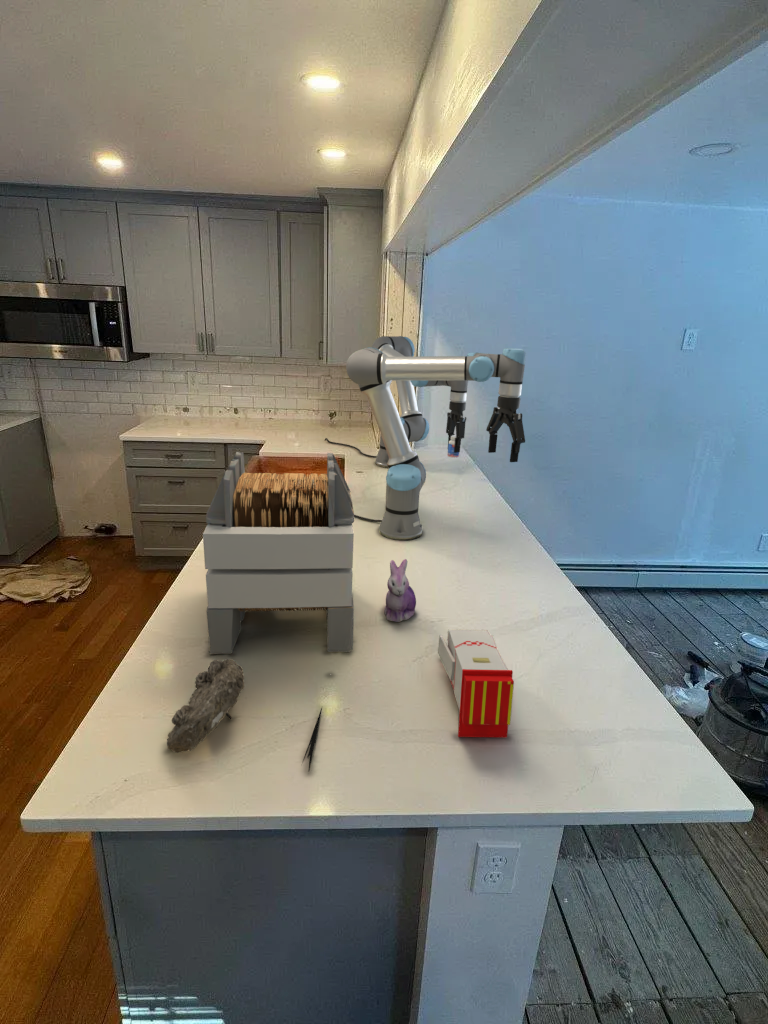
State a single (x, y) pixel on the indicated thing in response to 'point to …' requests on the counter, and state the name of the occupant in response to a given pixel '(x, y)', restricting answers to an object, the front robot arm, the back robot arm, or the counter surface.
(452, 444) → the pill bottle
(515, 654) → the counter surface
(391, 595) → the figurine
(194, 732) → the fossil
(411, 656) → the counter surface
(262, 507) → the record crate stand
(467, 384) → the back robot arm
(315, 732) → the feather
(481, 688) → the toy
